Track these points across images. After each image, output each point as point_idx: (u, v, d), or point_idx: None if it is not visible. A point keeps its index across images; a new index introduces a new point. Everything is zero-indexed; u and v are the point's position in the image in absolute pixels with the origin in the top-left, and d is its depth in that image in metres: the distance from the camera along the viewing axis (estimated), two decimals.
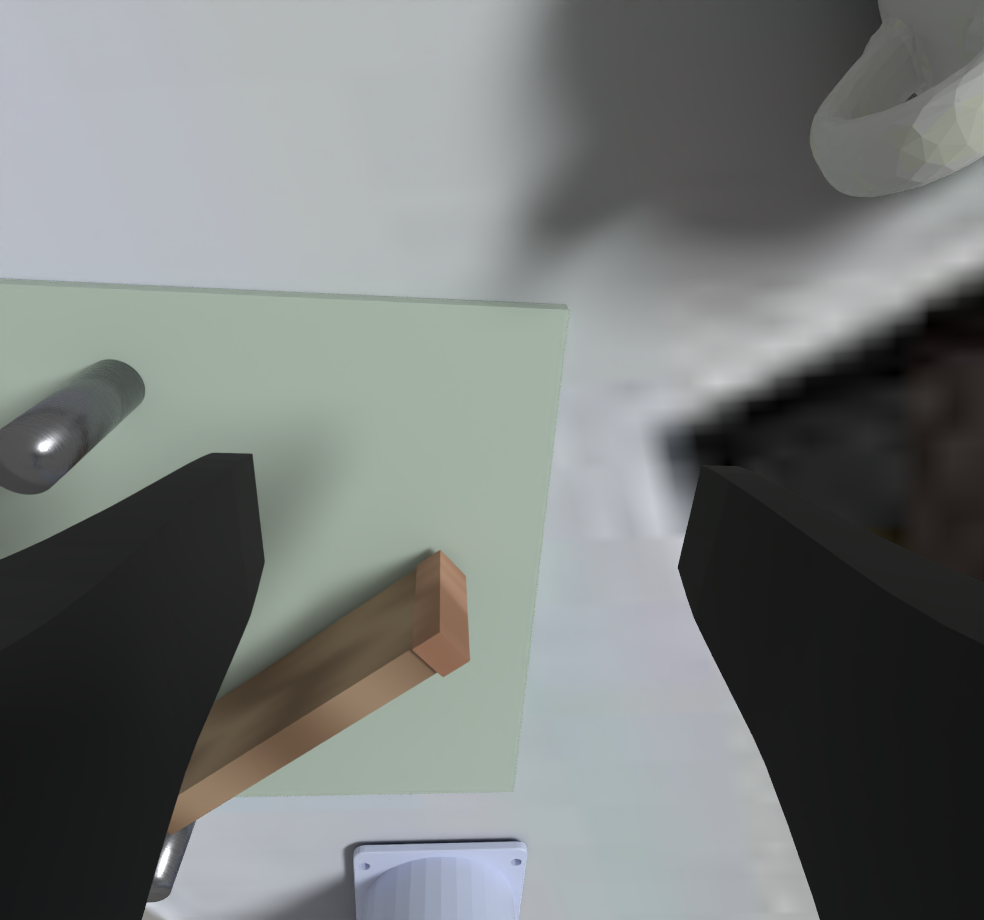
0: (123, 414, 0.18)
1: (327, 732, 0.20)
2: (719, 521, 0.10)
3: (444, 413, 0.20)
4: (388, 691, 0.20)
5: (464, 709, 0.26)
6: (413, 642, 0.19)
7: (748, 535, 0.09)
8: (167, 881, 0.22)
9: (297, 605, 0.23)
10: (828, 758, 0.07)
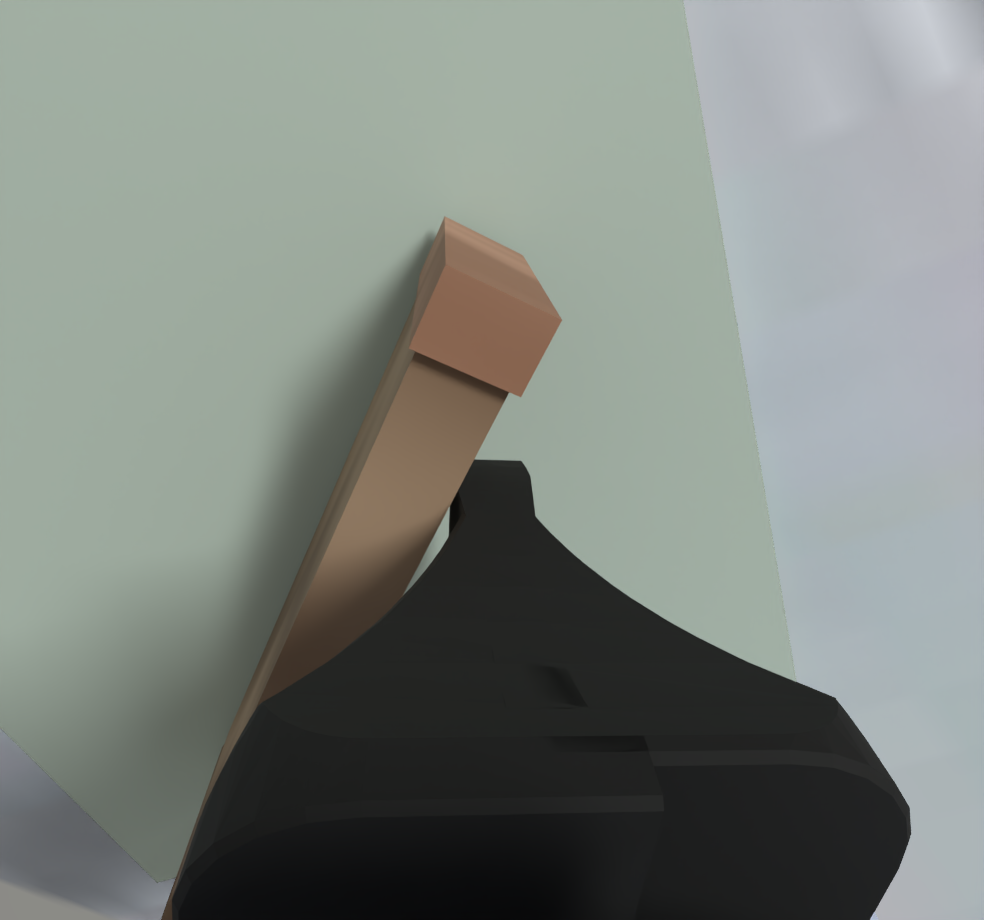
0: None
1: None
2: (451, 516, 0.10)
3: None
4: (427, 492, 0.08)
5: (669, 576, 0.15)
6: (410, 338, 0.07)
7: None
8: None
9: (311, 470, 0.13)
10: None
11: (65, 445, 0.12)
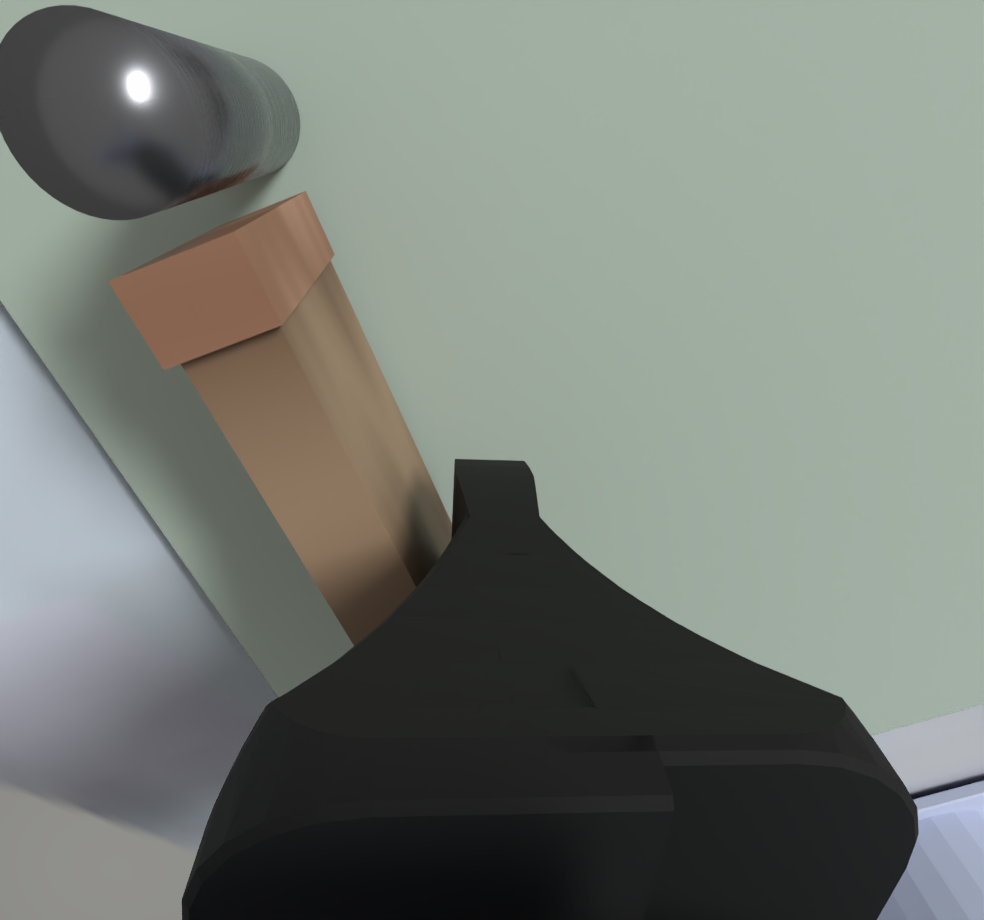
0: (279, 119, 0.09)
1: None
2: (455, 516, 0.10)
3: None
4: (321, 463, 0.08)
5: (954, 569, 0.15)
6: None
7: None
8: None
9: (651, 466, 0.13)
10: None
11: (427, 441, 0.13)
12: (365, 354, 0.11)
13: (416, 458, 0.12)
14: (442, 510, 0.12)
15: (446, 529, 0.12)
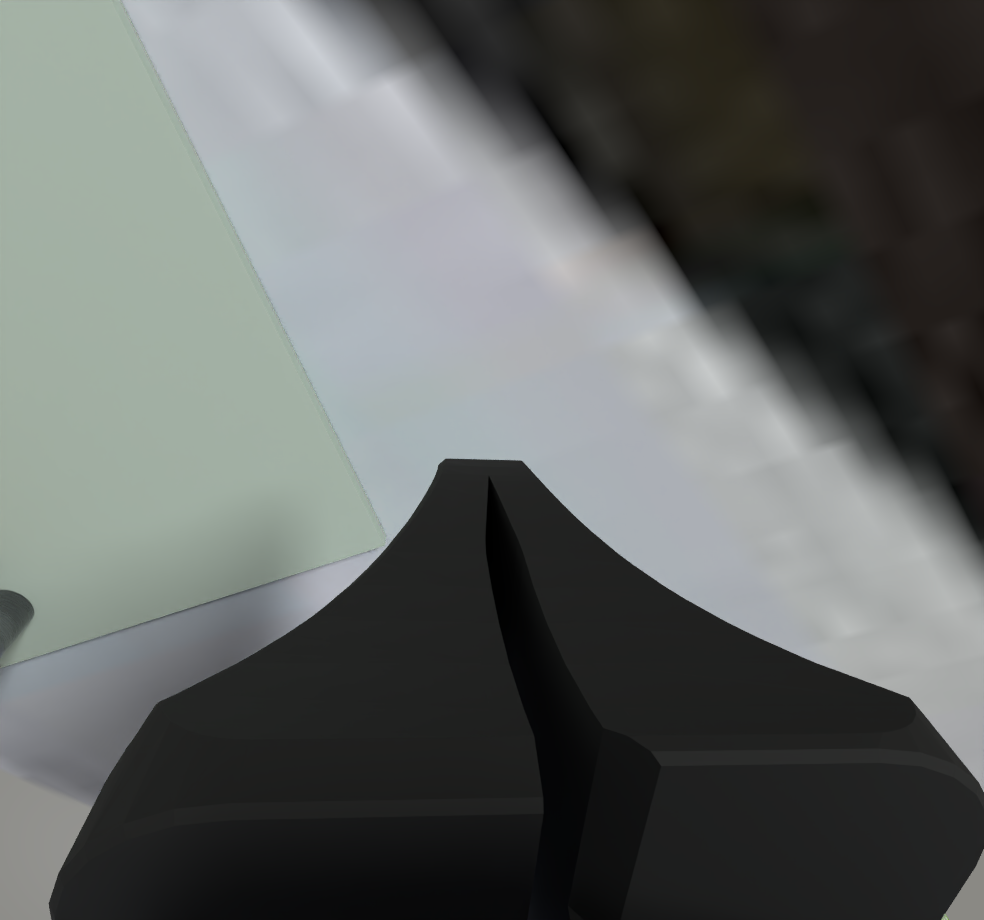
0: None
1: None
2: (486, 517, 0.10)
3: None
4: None
5: (251, 443, 0.21)
6: None
7: (495, 531, 0.09)
8: None
9: None
10: None
11: None
12: None
13: None
14: None
15: None
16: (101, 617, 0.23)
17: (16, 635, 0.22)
